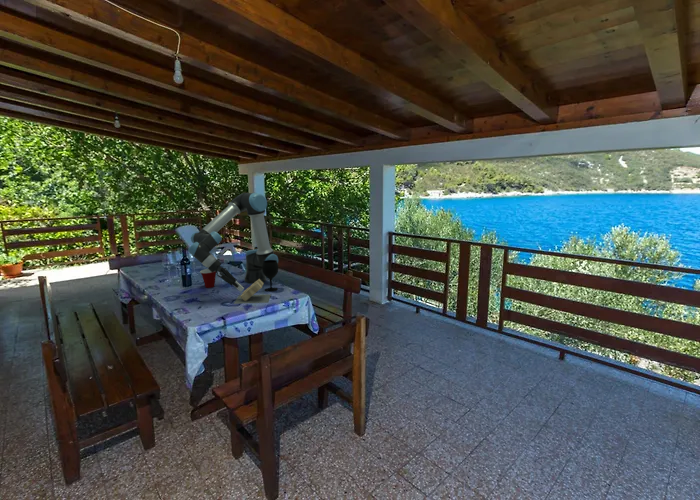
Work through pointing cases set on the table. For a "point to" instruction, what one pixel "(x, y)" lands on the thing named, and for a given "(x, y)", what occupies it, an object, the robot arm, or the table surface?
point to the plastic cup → (208, 278)
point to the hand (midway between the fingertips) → (242, 289)
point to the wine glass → (270, 272)
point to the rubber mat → (254, 299)
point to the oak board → (252, 290)
